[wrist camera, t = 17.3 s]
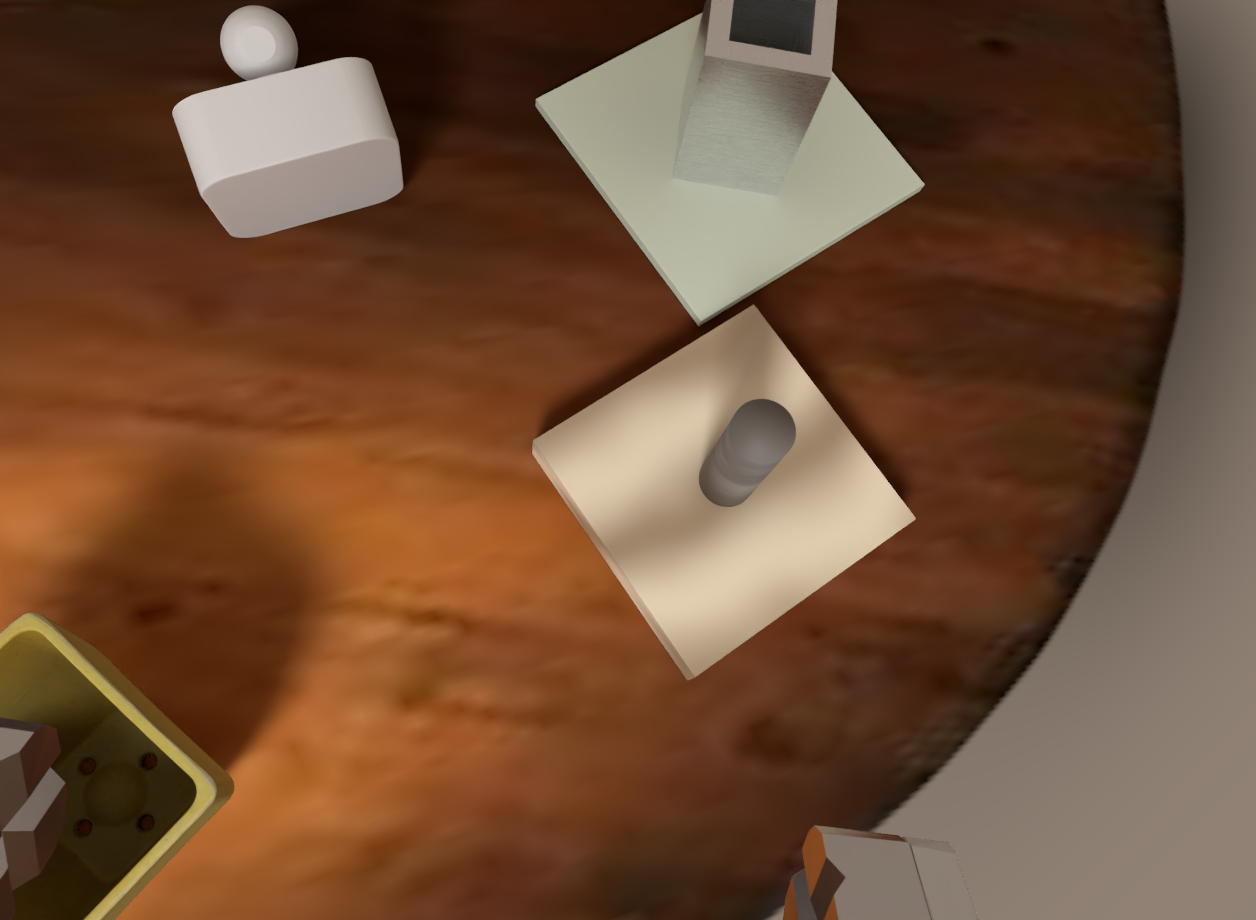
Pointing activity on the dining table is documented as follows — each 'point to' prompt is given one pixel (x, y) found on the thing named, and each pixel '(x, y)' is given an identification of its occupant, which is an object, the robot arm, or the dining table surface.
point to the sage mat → (712, 215)
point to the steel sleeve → (753, 90)
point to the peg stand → (720, 489)
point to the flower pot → (103, 773)
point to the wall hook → (287, 133)
